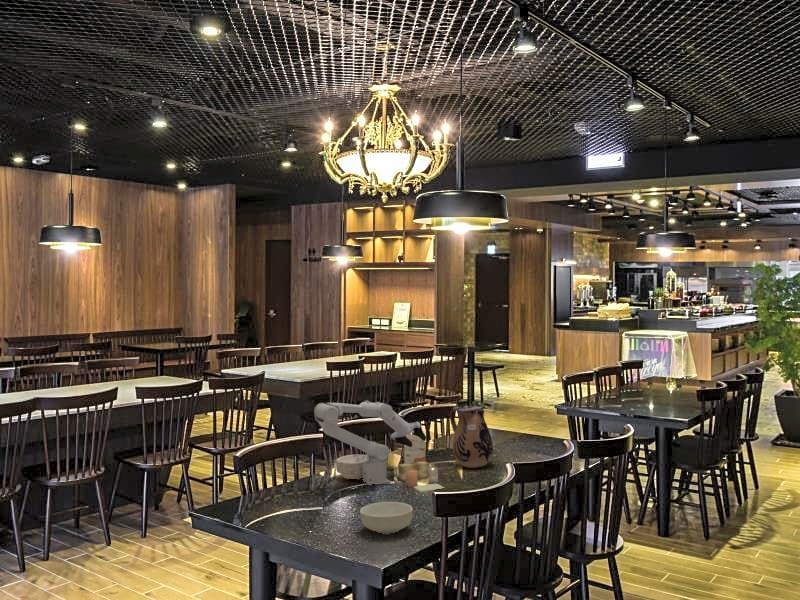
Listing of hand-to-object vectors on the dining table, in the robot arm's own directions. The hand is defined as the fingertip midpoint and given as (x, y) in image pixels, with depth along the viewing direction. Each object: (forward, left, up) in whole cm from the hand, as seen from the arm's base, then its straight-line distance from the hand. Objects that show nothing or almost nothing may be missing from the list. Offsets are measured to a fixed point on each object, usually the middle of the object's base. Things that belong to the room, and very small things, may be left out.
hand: (418, 442), depth 299 cm
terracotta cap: (-10, -15, -13) cm, 22 cm away
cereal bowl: (-38, -59, -14) cm, 71 cm away
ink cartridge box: (+6, +19, -14) cm, 24 cm away
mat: (-6, -22, -13) cm, 26 cm away
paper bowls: (-26, +8, -14) cm, 30 cm away
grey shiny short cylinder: (-1, -15, -13) cm, 20 cm away
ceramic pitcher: (+25, +3, -14) cm, 29 cm away
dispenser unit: (-5, -5, -13) cm, 15 cm away
